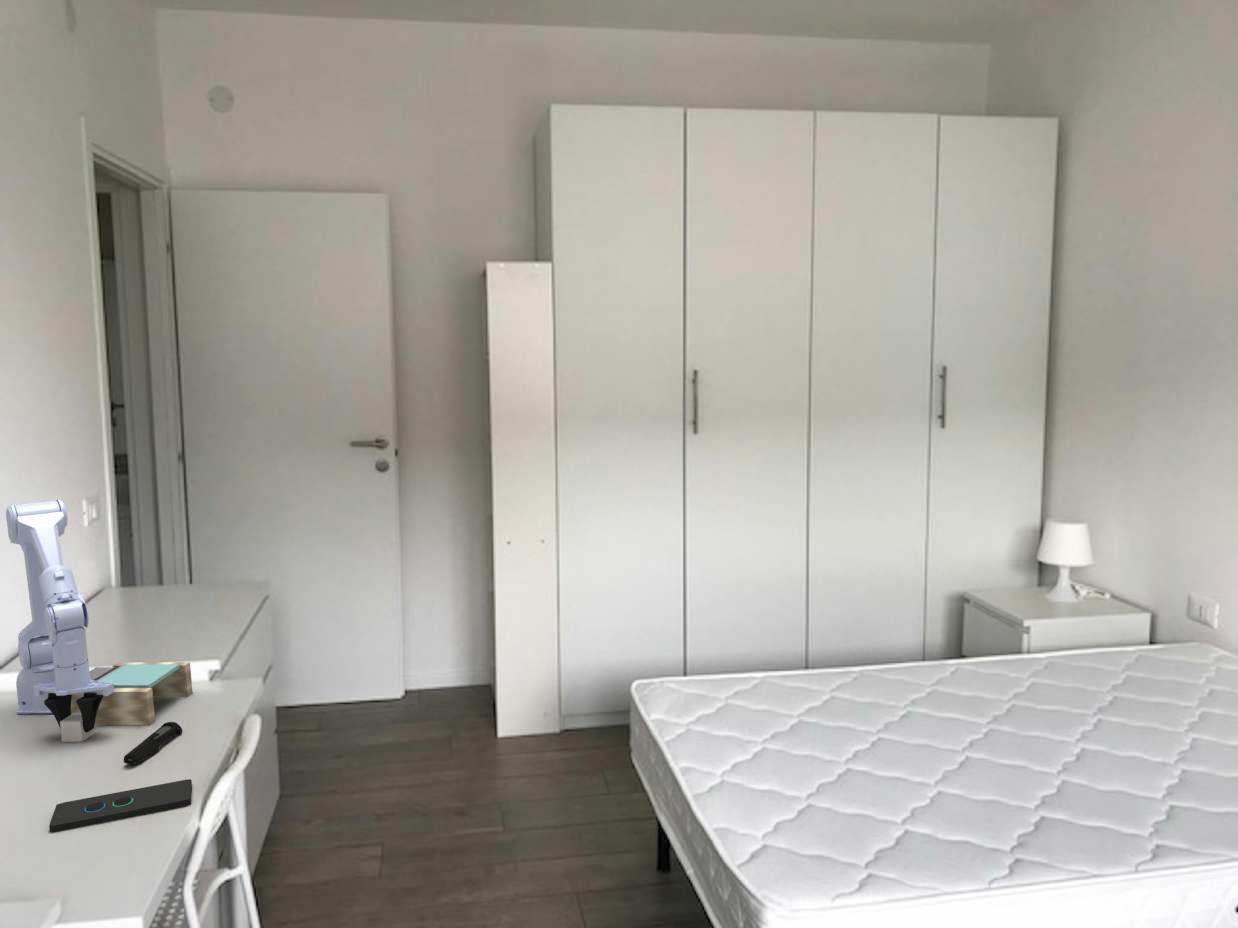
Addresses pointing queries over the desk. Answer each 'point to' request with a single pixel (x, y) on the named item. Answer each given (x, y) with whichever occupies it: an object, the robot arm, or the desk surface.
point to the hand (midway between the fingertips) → (77, 730)
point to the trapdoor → (133, 675)
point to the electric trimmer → (153, 743)
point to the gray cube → (74, 729)
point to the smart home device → (121, 805)
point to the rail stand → (139, 698)
